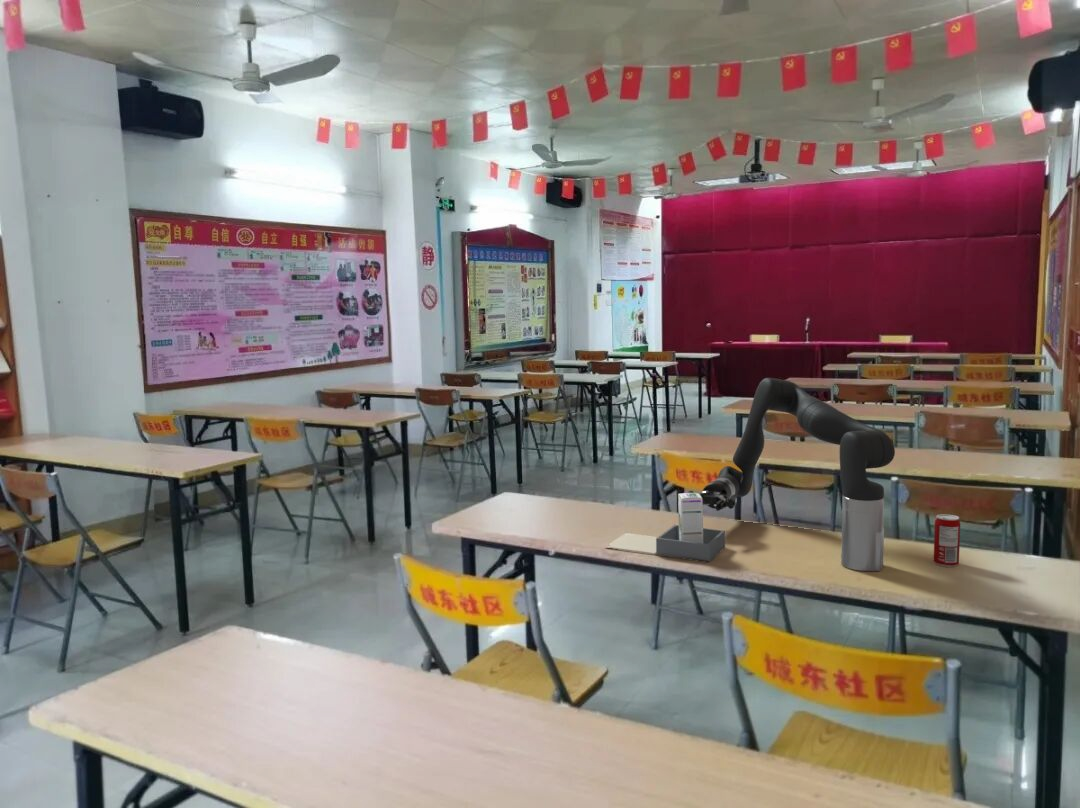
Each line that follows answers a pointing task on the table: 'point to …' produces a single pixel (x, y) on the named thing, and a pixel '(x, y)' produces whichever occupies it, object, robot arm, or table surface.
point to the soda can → (947, 540)
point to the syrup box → (690, 517)
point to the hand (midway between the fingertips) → (702, 505)
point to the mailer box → (673, 544)
